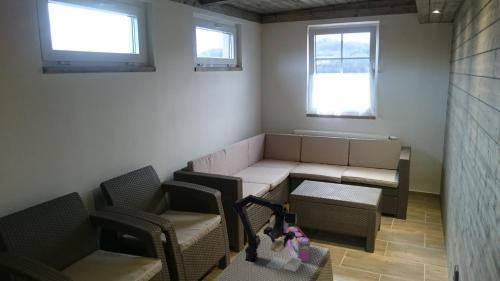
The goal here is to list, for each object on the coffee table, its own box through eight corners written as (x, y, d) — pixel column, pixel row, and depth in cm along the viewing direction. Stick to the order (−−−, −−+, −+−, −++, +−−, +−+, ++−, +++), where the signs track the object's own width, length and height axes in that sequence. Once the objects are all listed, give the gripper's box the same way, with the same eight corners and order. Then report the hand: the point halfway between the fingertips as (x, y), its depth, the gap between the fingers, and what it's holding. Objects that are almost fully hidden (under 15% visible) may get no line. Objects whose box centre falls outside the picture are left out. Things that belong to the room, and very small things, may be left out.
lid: (270, 250, 223) (270, 245, 222) (277, 242, 232) (277, 238, 232) (280, 252, 220) (280, 248, 219) (287, 244, 229) (287, 240, 229)
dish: (284, 269, 222) (284, 263, 221) (290, 261, 231) (290, 256, 230) (295, 272, 219) (295, 266, 218) (301, 264, 228) (301, 259, 227)
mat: (265, 266, 225) (265, 266, 225) (274, 257, 236) (274, 256, 236) (279, 270, 221) (279, 269, 221) (287, 260, 232) (287, 259, 232)
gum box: (285, 244, 253) (285, 226, 250) (296, 243, 255) (296, 224, 252) (297, 262, 230) (298, 242, 227) (309, 260, 232) (310, 240, 229)
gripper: (259, 224, 220) (259, 248, 223) (288, 230, 211) (288, 255, 215) (267, 217, 230) (267, 241, 233) (295, 223, 221) (295, 247, 224)
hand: (279, 246), depth 226 cm, fingers closed on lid, 6 cm apart
